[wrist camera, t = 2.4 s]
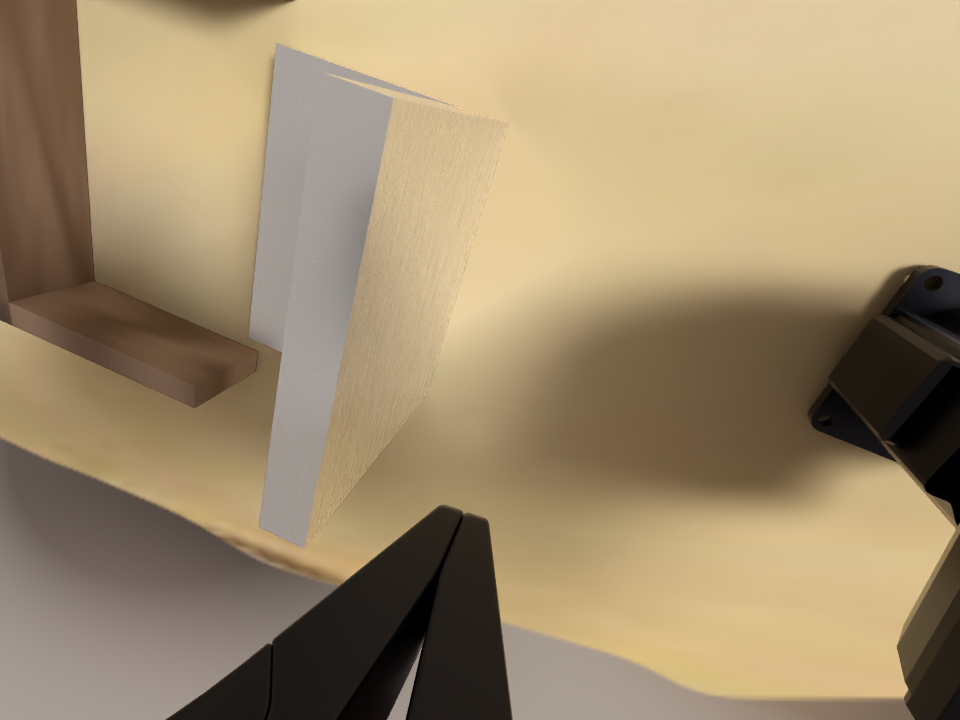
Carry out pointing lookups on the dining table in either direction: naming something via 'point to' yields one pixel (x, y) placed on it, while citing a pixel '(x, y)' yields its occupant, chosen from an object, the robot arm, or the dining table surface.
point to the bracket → (356, 268)
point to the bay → (78, 225)
